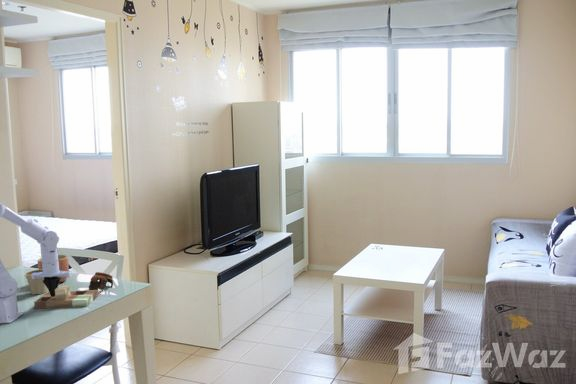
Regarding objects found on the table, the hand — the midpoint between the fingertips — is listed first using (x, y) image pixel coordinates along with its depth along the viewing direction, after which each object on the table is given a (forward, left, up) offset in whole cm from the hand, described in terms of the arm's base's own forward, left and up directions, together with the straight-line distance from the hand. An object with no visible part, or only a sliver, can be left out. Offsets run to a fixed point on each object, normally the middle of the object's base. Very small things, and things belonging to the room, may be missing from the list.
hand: (53, 295), depth 203 cm
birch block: (0, -3, -1) cm, 4 cm away
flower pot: (+17, +14, -4) cm, 22 cm away
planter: (+32, +14, -4) cm, 35 cm away
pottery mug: (+18, -12, -4) cm, 22 cm away
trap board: (+3, -4, -3) cm, 6 cm away
